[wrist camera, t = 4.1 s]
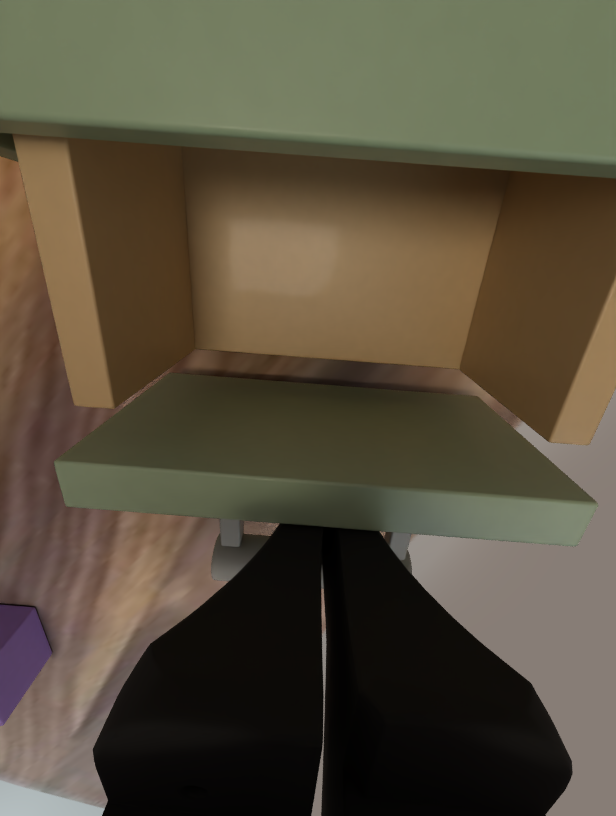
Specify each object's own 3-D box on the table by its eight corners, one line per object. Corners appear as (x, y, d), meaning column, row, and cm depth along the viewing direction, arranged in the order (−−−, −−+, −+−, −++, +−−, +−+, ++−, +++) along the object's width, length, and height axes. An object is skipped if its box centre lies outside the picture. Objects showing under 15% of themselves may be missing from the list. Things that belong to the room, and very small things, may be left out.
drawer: (443, 513, 14) (516, 665, 9) (181, 492, 15) (98, 632, 9) (611, -61, 8) (1274, -782, 2) (121, -96, 8) (-321, -880, 2)
